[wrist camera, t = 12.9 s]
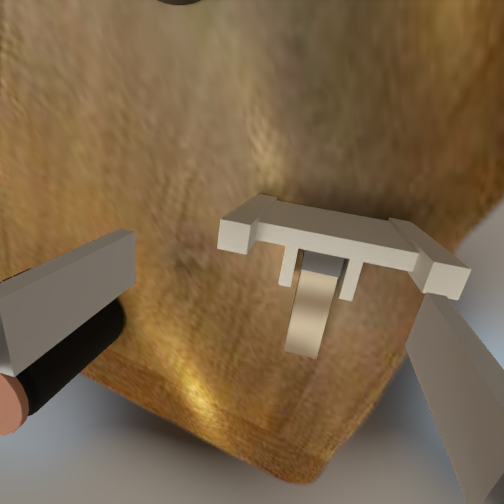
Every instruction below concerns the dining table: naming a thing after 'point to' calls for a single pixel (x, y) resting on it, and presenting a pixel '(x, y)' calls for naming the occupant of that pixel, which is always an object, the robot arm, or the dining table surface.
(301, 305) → the beige wooden block
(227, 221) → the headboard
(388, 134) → the dining table surface
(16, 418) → the coffee jar
